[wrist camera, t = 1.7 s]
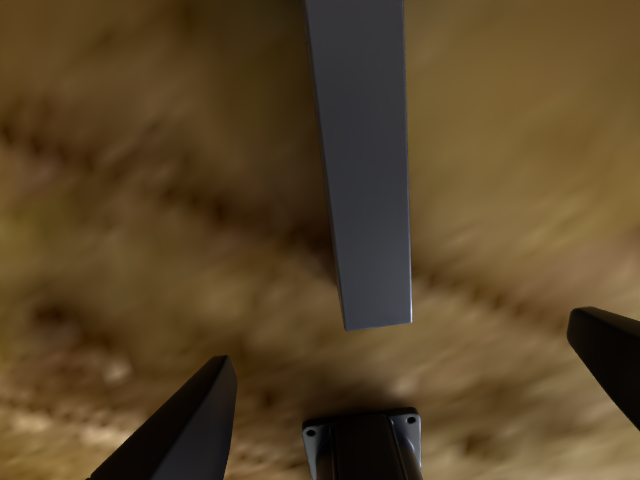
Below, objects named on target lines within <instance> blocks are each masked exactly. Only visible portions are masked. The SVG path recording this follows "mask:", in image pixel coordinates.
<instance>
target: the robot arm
mask: <svg viewBox="0 0 640 480" xmlns="http://www.w3.org/2000/svg"><path fill="white" fill-rule="evenodd" d="M567 339H568V342H569V344H570V345H571V346H572V348H573V349H574V350H575V352H576V353H577V354H578V356H579V357H580V358H581V360H582V361H583V362H584V364H585V365H586V366H587V368H588V369H589V370H590V372H591V373H592V374H593V376H594V377H595V379H596V380H597V381H598V383H599V384H600V385H601V387H602V388H603V389H604V390H605V392H606V393H607V394H608V396H609V397H610V398H611V399H612V400H613V402H614V403H615V404H616V405H617V406H618V408H619V409H620V410H621V411H622V412H623V413H624V414H625V415H626V417H627V418H628V419H629V420H630V421H631V422H632V423H633V424H634V426H635V427H636V428H637V429H638V430H639V431H640V321H637V320H634V319H631V318H627V317H624V316H621V315H618V314H614V313H611V312H608V311H605V310H601V309H598V308H595V307H589V306H588V307H580V308H575V309H573V310H572V311H571V313H570V318H569V323H568V329H567ZM236 395H237V377H236V373H235V370H234V367H233V363H232V360H231V357H230V356H229V355H227V354H226V355H218V356H214V357H212V358H211V359H210V360H209V361H208V362H207V363H206V364H205V365H204V366H203V367H201V368H200V369H199V370H198V371H197V372H196V373H195V374H194V375H193V376H192V377H191V378H190V379H189V380H188V381H187V382H186V383H185V384H184V385H183V386H182V387H181V388H180V389H179V390H178V391H177V392H176V393H175V394H174V395H173V396H171V397H170V398H169V399H168V400H167V401H166V402H165V403H164V404H163V405H162V406H161V407H160V408H159V409H158V410H157V411H156V412H155V413H154V414H153V415H152V416H151V417H150V418H149V419H148V420H147V421H146V422H145V423H144V424H143V425H142V426H140V427H139V428H138V429H137V430H136V431H135V432H134V433H133V434H132V435H131V436H130V437H129V438H128V439H127V440H126V441H125V442H124V443H123V444H122V445H121V446H120V447H119V448H118V449H117V450H116V451H115V452H114V453H113V454H112V455H110V456H109V457H108V458H107V459H106V460H105V461H104V462H103V463H102V464H101V465H100V466H99V467H98V468H97V469H96V470H95V471H94V472H93V473H92V474H91V477H90V478H87V479H86V480H223V478H224V473H225V469H226V465H227V460H228V455H229V450H230V444H231V437H232V429H233V420H234V412H235V403H236ZM302 436H303V441H304V445H305V450H306V455H307V459H308V464H309V468H310V473H311V477H312V480H423V478H422V475H421V434H420V417H419V414H418V411H417V410H416V409H415V408H413V407H407V408H399V409H391V410H384V411H376V412H368V413H360V414H353V415H345V416H337V417H330V418H322V419H314V420H308V421H306V422H304V423H303V425H302Z"/></svg>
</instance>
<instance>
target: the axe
mask: <svg viewBox="0 0 640 480" xmlns="http://www.w3.org/2000/svg"><path fill="white" fill-rule="evenodd" d="M301 6H302V14H303V22H304V30H305V38H306V45H307V53H308V61H309V69H310V77H311V85H312V92H313V100H314V108H315V116H316V124H317V132H318V139H319V147H320V155H321V163H322V171H323V178H324V186H325V194H326V202H327V210H328V218H329V225H330V233H331V241H332V249H333V257H334V265H335V272H336V280H337V288H338V295H339V300H340V306H341V312H342V317H343V323H344V329H345V330H346V331H354V330H361V329H369V328H376V327H384V326H391V325H399V324H407V323H411V322H412V285H411V249H410V213H409V177H408V141H407V105H406V69H405V33H404V0H301Z"/></svg>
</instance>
